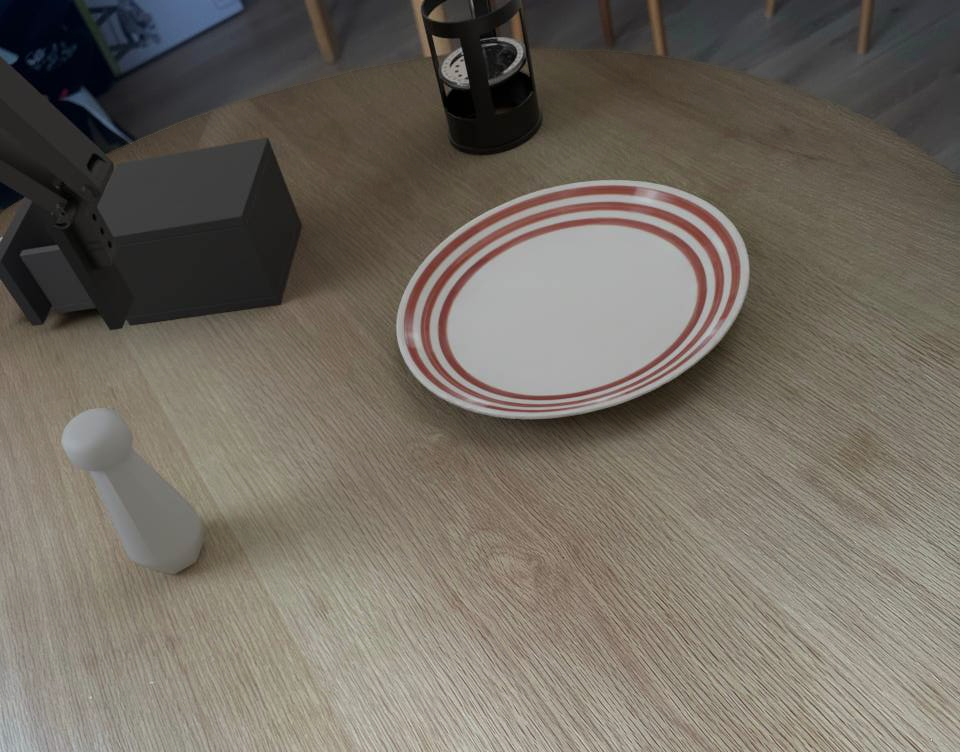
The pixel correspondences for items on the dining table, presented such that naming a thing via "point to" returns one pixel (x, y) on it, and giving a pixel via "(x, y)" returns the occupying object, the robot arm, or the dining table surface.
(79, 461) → the salt shaker
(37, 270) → the dark pull-out drawer box
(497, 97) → the french press
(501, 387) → the dinner plate
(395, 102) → the dining table surface
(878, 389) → the dining table surface
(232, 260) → the drawer casing
